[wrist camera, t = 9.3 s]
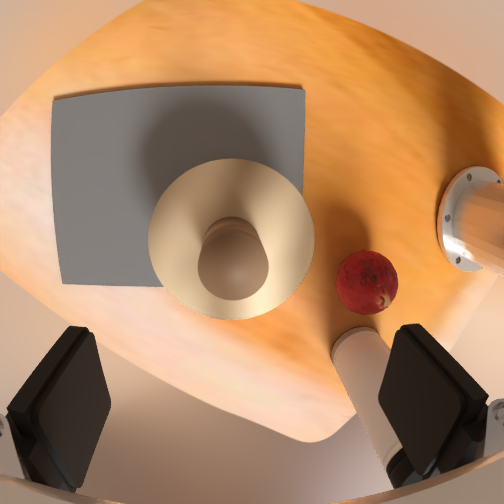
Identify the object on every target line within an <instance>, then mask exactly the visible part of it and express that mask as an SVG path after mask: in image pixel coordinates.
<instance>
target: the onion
mask: <svg viewBox="0 0 504 504" xmlns="http://www.w3.org/2000/svg"><path fill="white" fill-rule="evenodd" d="M336 287H337V291H338V295H339V298H340V300H341V301H342V302H343V303H344V305H345V306H346V307H347V308H348V309H349V310H350V311H353V312H355V313H358V314H361V315H369V314H376V313H378V312H381V311H383V310H384V309H385V308H388V306H389V305H390V304H391V302H392V301H393V299H394V298H395V296H396V293H397V289H398V278H397V273H396V271H395V269H394V267H393V265H392V263H391V262H390V261H389V260H388V259H387V258H386V257H384V256H383V255H381V254H380V253H377V252H374V251H367V250H362V251H360V252H357V253H354V254H351V255H350V256H349V257H348V258H347V259H346V260H345V261H344V262H343V263H342V265H341V267H340V269H339V271H338V273H337V280H336Z"/></svg>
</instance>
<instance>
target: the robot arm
mask: <svg viewBox="0 0 504 504" xmlns="http://www.w3.org/2000/svg"><path fill="white" fill-rule="evenodd" d="M437 232H438V240H439V244H440V247H441V250H442V252H443V254H444V256H445V258H446V259H447V260H448V262H449V263H451V264H452V265H453V266H454V267H456V268H458V269H460V270H462V271H466V272H474V271H477V270H480V269H482V268H486V269H488V270H490V271H492V272H494V273H495V274H497V275H499V276H501V277H503V278H504V183H503V181H502V179H501V178H500V177H499V176H498V175H497V173H495V172H494V171H493V170H491V169H489V168H486V167H481V166H472V167H468V168H466V169H463V170H462V171H461V172H459V173H458V174H457V175H456V176H455V177H454V178H453V179H452V180H451V182H450V183H449V185H448V186H447V188H446V190H445V192H444V195H443V197H442V200H441V203H440V207H439V212H438V219H437ZM488 397H489V395H488V394H487V393H486V392H485V391H484V390H483V389H482V388H481V387H480V385H479V384H478V383H477V382H476V381H475V380H474V379H473V378H472V377H471V376H470V375H469V374H468V373H467V372H466V371H465V369H464V368H463V367H462V366H461V365H460V364H459V363H458V362H457V361H456V360H455V359H454V358H453V357H452V356H451V355H450V354H449V353H448V352H447V351H446V350H445V349H444V348H443V347H442V346H441V345H440V344H439V343H438V342H437V341H436V340H435V339H434V338H433V337H432V336H431V335H430V334H429V333H428V332H427V331H426V330H425V329H424V328H423V327H422V326H421V325H420V324H407V325H402V326H401V328H400V330H397V331H396V333H395V337H394V341H393V345H392V348H391V352H390V356H389V360H388V363H387V367H386V370H385V374H384V377H383V380H382V384H381V387H380V390H379V393H378V402H379V404H380V406H381V408H382V410H383V412H384V414H385V415H386V417H387V419H388V421H389V423H390V424H391V426H392V428H393V430H394V432H395V434H396V435H397V437H398V439H399V441H400V443H401V445H402V447H403V448H404V450H405V452H406V454H407V456H408V458H409V460H410V462H411V463H412V465H413V467H414V469H415V471H416V473H417V474H418V475H420V476H421V475H422V477H423V479H424V480H423V481H420V482H417V483H414V484H411V485H407V486H404V487H401V488H397V489H394V490H390V491H386V492H382V493H378V494H375V495H370V496H366V497H361V498H357V499H352V500H347V501H341V502H337V503H331V504H504V399H497V400H494V401H492V402H491V404H490V405H489V406H487V405H486V400H487V398H488ZM110 408H111V399H110V395H109V392H108V388H107V384H106V381H105V377H104V374H103V370H102V366H101V362H100V358H99V354H98V349H97V345H96V341H95V336H94V334H93V333H92V332H89V330H88V328H86V327H78V326H69V327H68V328H67V329H66V330H65V332H64V333H63V334H62V335H61V337H60V338H59V339H58V340H57V341H56V343H55V344H54V345H53V346H52V348H51V349H50V350H49V352H48V353H47V354H46V355H45V357H44V358H43V359H42V361H41V362H40V363H39V365H38V366H37V367H36V368H35V370H34V371H33V372H32V374H31V375H30V376H29V378H28V379H27V380H26V382H25V383H24V385H23V386H22V387H21V389H20V390H19V391H18V393H17V394H16V395H15V397H14V398H13V400H12V401H11V403H10V404H9V405H8V407H7V410H8V414H7V415H6V417H4V416H3V415H2V414H0V504H123V503H118V502H112V501H107V500H102V499H97V498H92V497H88V496H83V495H79V494H75V491H76V488H80V487H81V486H82V484H83V482H84V479H85V476H86V473H87V470H88V467H89V464H90V462H91V459H92V456H93V453H94V451H95V448H96V445H97V442H98V440H99V437H100V434H101V432H102V429H103V427H104V424H105V421H106V419H107V416H108V414H109V411H110Z"/></svg>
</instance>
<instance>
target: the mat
mask: <svg viewBox="0 0 504 504" xmlns="http://www.w3.org/2000/svg"><path fill="white" fill-rule="evenodd" d="M304 133H305V90H303V89H292V88H279V87H263V86H235V85H198V86H170V87H154V88H141V89H130V90H121V91H112V92H104V93H97V94H90V95H83V96H77V97H71V98H66V99H60V100H55V101H53V105H52V125H51V177H52V198H53V212H54V223H55V233H56V242H57V250H58V257H59V264H60V271H61V277H62V283H63V284H77V285H106V286H146V287H164V286H163V285H162V284H161V282H160V280H159V279H158V277H157V275H156V273H155V271H154V268H153V266H152V262H151V259H150V255H149V247H148V232H149V225H150V221H151V217H152V214H153V211H154V209H155V207H156V205H157V202H158V201H159V199H160V198H161V196H162V194H163V193H164V192H165V190H166V189H167V188H168V187H169V186H170V185H171V184H172V183H173V182H174V181H175V180H176V179H177V178H178V177H179V176H181V175H182V174H184V173H185V172H187V171H188V170H190V169H192V168H194V167H196V166H198V165H201V164H204V163H207V162H210V161H215V160H220V159H244V160H249V161H253V162H257V163H260V164H263V165H265V166H268V167H269V168H271V169H273V170H275V171H277V172H278V173H280V174H281V175H282V176H284V177H285V178H286V179H287V180H288V181H290V182H291V183H292V184H293V185H294V186H295V188H296V189H297V190H298V191H299V193H300V194H301V196H302V187H303V163H304Z"/></svg>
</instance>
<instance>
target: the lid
mask: <svg viewBox="0 0 504 504" xmlns="http://www.w3.org/2000/svg"><path fill="white" fill-rule="evenodd" d="M314 238H315V234H314V226H313V221H312V218H311V214H310V211H309V209H308V207H307V204H306V202H305V201H304V199H303V197H302V196H301V194H300V193H299V191H298V190H297V189H296V188H295V186H294V185H293V184H292V183H291V182H290V181H288V180H287V179H286V178H285V177H284V176H282V175H281V174H280V173H278V172H277V171H275V170H273V169H271V168H269V167H268V166H265V165H263V164H260V163H257V162H253V161H249V160H244V159H220V160H215V161H210V162H207V163H204V164H201V165H198V166H196V167H194V168H192V169H190V170H188V171H187V172H185V173H184V174H182V175H181V176H179V177H178V178H177V179H176V180H175V181H174V182H173V183H172V184H171V185H170V186H169V187H168V188H167V189H166V190H165V192H164V193H163V194H162V196H161V198H160V199H159V201H158V202H157V205H156V207H155V209H154V211H153V214H152V217H151V221H150V225H149V232H148V247H149V255H150V259H151V262H152V266H153V268H154V271H155V273H156V275H157V277H158V279H159V280H160V282H161V284H162V285H163V286H164V288H165V289H166V290H167V292H168V293H169V294H170V295H171V296H172V297H173V298H174V299H175V300H177V301H178V302H179V303H181V304H182V305H183V306H185V307H187V308H188V309H190V310H192V311H194V312H196V313H198V314H201V315H204V316H207V317H210V318H215V319H221V320H241V319H247V318H252V317H255V316H258V315H261V314H264V313H266V312H268V311H270V310H272V309H274V308H275V307H277V306H279V305H280V304H281V303H283V302H284V301H285V300H286V299H288V298H289V297H290V296H291V295H292V294H293V293H294V292H295V290H296V289H297V288H298V287H299V285H300V284H301V282H302V281H303V279H304V277H305V276H306V274H307V271H308V269H309V267H310V264H311V260H312V257H313V251H314Z"/></svg>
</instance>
